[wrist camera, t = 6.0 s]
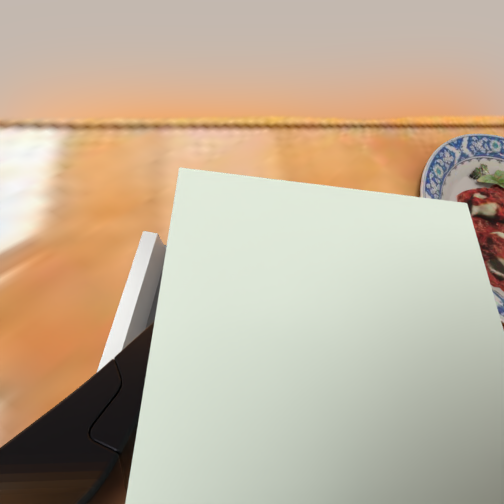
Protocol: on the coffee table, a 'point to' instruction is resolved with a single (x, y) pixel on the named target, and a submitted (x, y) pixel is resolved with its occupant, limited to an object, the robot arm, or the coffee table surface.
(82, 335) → the coffee table surface
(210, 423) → the cream white box
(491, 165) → the ceramic plate
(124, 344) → the dish rack
